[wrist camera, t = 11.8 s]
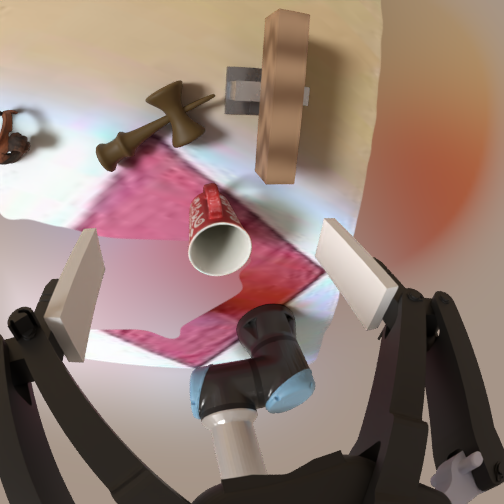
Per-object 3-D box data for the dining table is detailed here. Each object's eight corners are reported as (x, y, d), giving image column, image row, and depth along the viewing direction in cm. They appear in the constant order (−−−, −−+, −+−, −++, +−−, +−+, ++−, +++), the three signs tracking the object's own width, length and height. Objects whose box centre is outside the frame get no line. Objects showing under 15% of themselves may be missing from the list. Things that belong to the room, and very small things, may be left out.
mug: (235, 229, 53) (252, 272, 42) (187, 234, 51) (191, 280, 40) (234, 164, 46) (253, 193, 35) (180, 169, 44) (181, 200, 33)
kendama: (93, 132, 37) (200, 68, 36) (121, 176, 43) (225, 118, 41) (81, 141, 32) (202, 67, 31) (114, 190, 38) (231, 124, 37)
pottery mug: (-5, 164, 33) (-31, 155, 24) (13, 117, 32) (-10, 103, 24) (33, 174, 34) (5, 165, 26) (53, 122, 34) (29, 105, 26)
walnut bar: (280, 170, 42) (294, 184, 37) (254, 170, 41) (266, 184, 36) (292, 22, 29) (309, 14, 24) (265, 18, 28) (279, 8, 23)
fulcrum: (294, 116, 43) (309, 121, 39) (224, 113, 41) (230, 117, 36) (298, 73, 39) (314, 72, 34) (226, 66, 36) (233, 64, 31)
